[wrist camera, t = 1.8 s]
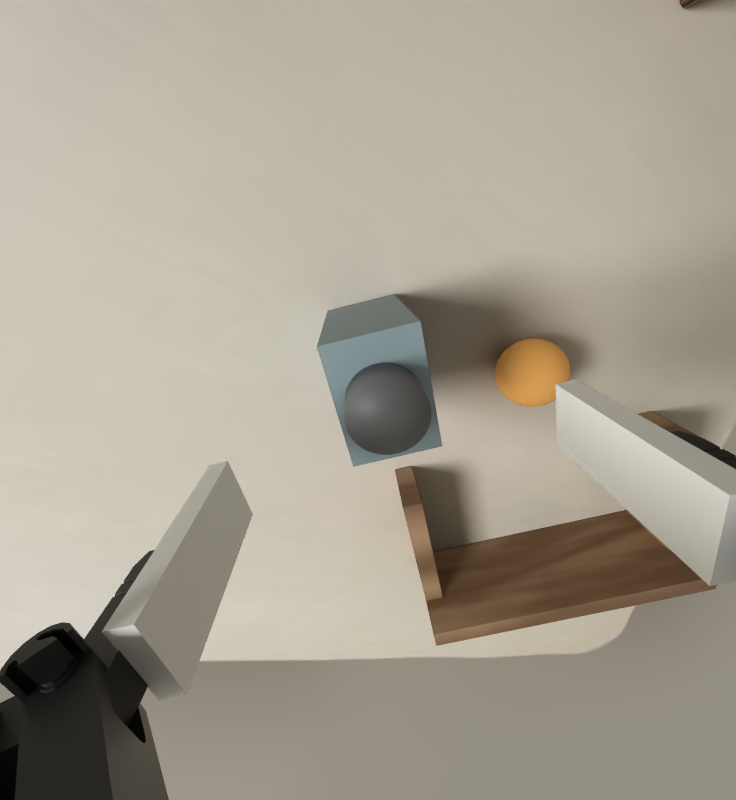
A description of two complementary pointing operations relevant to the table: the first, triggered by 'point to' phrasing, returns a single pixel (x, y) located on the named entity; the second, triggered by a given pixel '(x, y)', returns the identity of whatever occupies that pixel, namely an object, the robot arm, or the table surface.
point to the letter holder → (687, 3)
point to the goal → (543, 570)
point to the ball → (531, 372)
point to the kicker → (379, 379)
